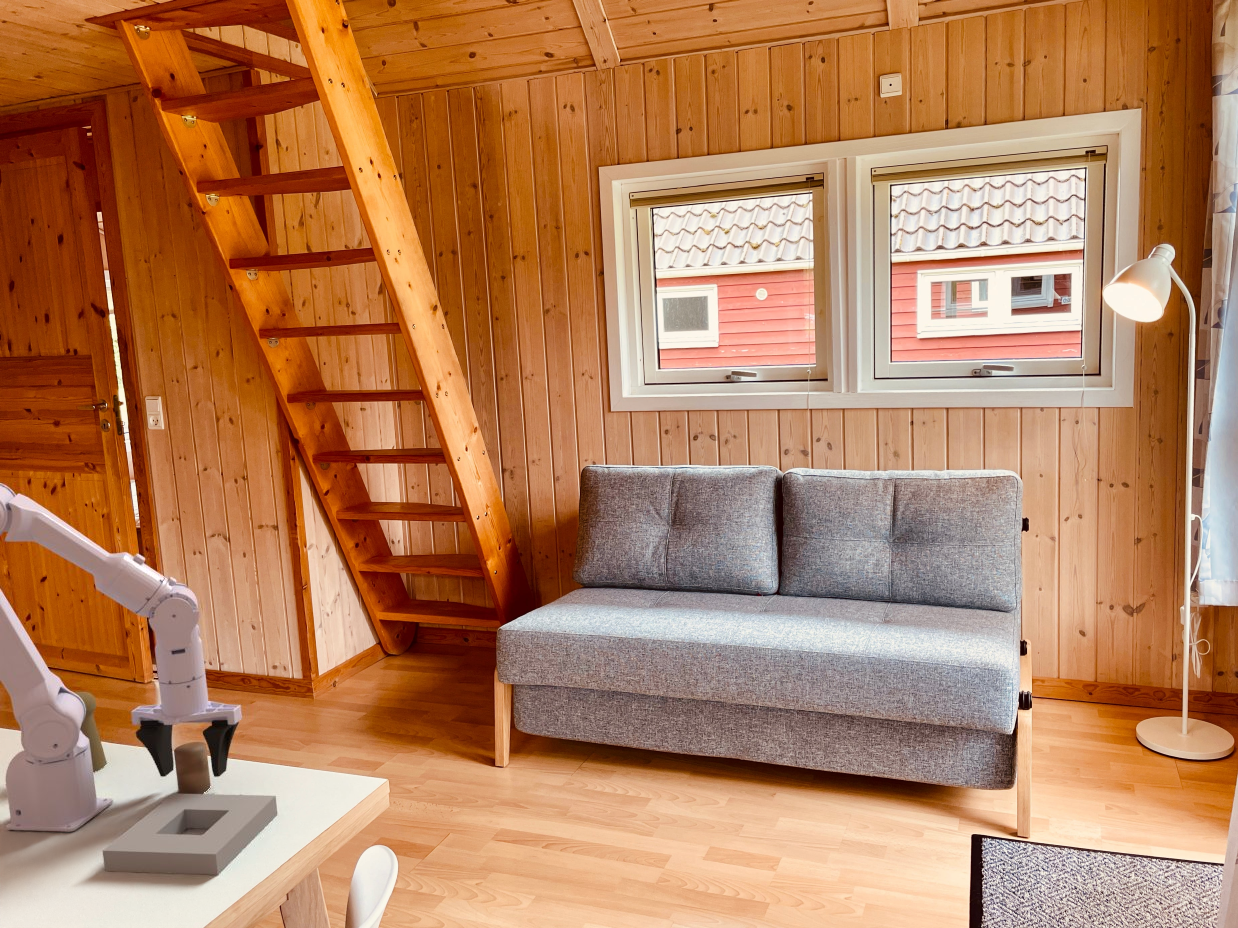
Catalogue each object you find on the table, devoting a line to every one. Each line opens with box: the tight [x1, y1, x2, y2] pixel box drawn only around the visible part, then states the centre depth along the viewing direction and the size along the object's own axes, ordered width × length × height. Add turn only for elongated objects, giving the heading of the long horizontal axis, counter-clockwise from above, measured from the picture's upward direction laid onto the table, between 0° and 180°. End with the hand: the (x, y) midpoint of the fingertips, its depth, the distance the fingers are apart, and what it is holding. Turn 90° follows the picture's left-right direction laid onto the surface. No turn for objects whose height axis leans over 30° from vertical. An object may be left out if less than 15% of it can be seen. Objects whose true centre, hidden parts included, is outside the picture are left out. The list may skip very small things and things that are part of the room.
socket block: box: [102, 793, 278, 876], centre depth 119 cm, size 14×14×2 cm
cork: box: [74, 691, 108, 773], centre depth 141 cm, size 6×6×11 cm
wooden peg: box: [173, 741, 212, 794], centre depth 133 cm, size 4×4×6 cm
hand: (193, 773), depth 133 cm, fingers open, 7 cm apart
